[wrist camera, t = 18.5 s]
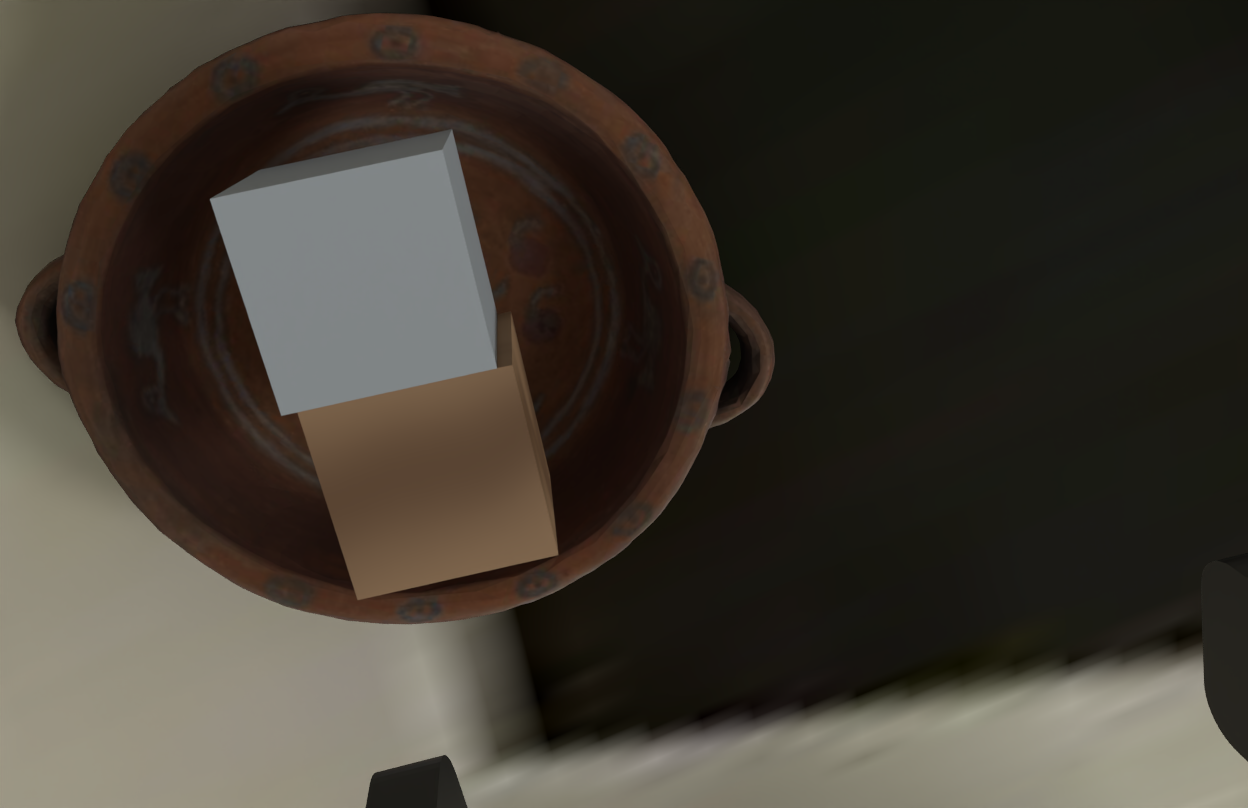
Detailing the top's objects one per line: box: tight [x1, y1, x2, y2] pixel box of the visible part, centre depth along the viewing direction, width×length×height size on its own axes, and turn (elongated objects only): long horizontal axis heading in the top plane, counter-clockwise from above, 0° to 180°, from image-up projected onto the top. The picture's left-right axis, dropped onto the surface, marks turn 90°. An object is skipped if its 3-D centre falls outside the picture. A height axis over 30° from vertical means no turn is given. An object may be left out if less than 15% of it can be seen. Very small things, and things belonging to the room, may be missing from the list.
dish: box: [15, 13, 775, 624], centre depth 32 cm, size 17×22×5 cm
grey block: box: [210, 129, 497, 416], centre depth 26 cm, size 5×5×5 cm
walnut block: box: [297, 311, 558, 600], centre depth 28 cm, size 5×5×5 cm
